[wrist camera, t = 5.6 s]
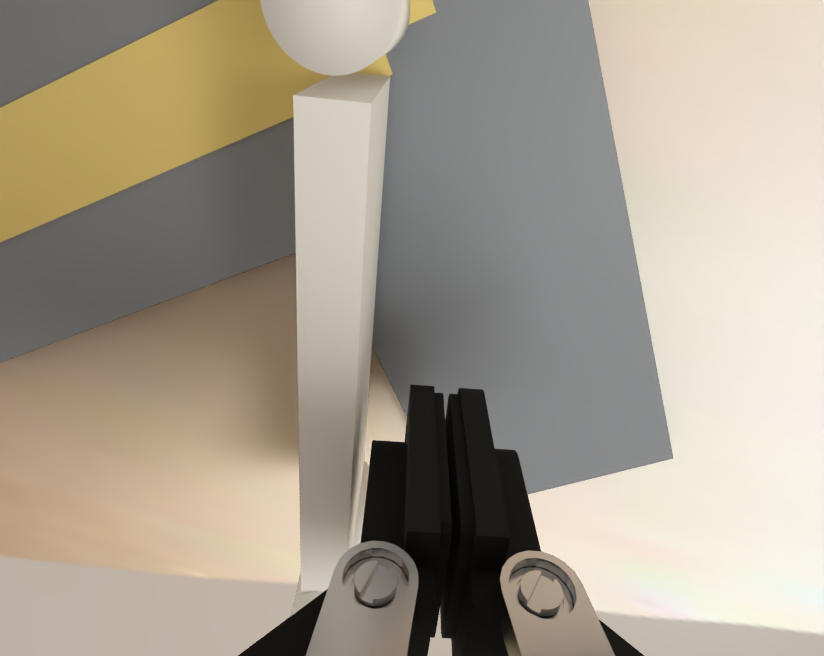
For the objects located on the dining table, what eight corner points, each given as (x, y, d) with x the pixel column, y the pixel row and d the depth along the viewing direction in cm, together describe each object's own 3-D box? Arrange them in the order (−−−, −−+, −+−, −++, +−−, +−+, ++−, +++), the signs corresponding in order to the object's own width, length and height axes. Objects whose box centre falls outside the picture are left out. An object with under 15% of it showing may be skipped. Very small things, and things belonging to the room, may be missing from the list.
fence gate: (330, 69, 10) (271, 96, 6) (400, 77, 11) (385, 107, 6) (323, 485, 16) (290, 638, 12) (368, 489, 16) (350, 642, 12)
